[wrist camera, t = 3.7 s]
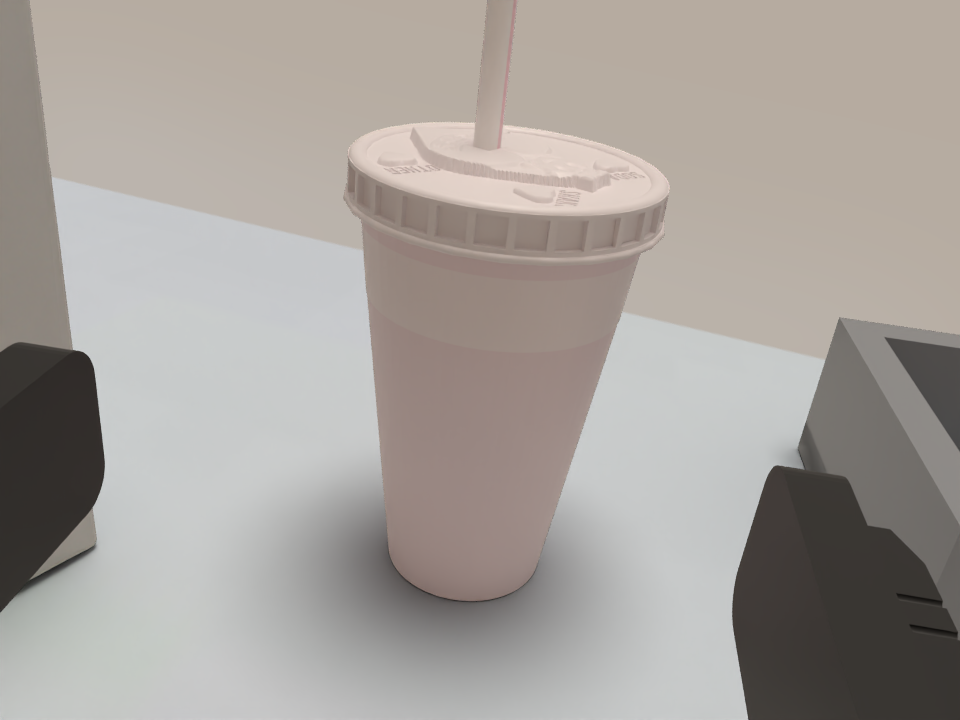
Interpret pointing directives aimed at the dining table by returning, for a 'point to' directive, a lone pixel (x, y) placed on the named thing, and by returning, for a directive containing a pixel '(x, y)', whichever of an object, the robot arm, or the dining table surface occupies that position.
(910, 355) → the box
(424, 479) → the smoothie
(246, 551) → the dining table surface
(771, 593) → the robot arm
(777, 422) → the dining table surface
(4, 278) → the supplement box
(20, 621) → the dining table surface
